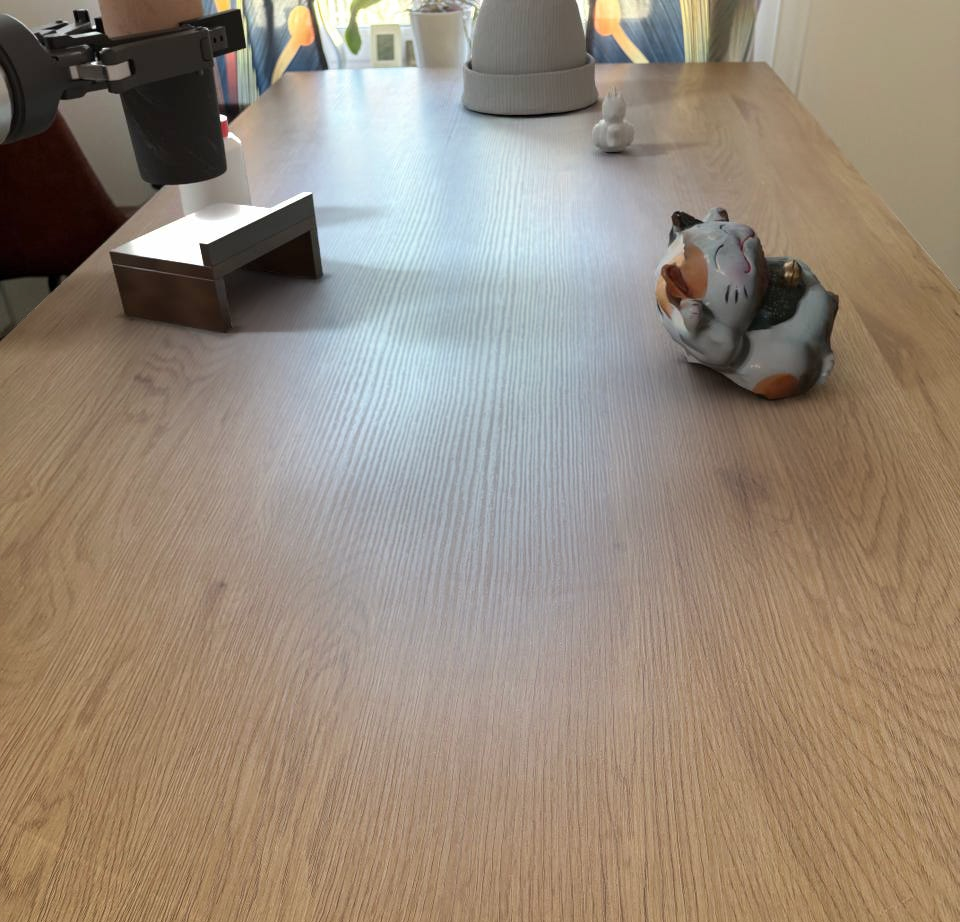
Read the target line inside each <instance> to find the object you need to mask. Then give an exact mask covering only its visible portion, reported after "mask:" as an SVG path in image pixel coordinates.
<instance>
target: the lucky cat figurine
mask: <svg viewBox="0 0 960 922" xmlns="http://www.w3.org/2000/svg"><path fill="white" fill-rule="evenodd" d="M670 218H671V221H672V224H671V229H670V231H669V234H668V243H667V247H666V250H665V253H664V256H663V257H662V258H661V260H660V262H659V264H658V266H657V268H656V269H655V272H654V273H653V277H654V281H655V291H654V294H655V297H656V299H655V300H656V305H655V307H656V313H657V314H658V317H659V320H660V323H661V324H662V326H663V327H664V328H665V330H666V331H667V332H668V334H669V336H670V337H671V339H672V340H673V342H675V343H676V344H678V345H679V346H680V347H682V355H683V357H684V358H685V360H687V362H689V363H694V364H695V363H696V364H701V365H703V366H705V367H708V368H710V369H711V370H714V371H716V372H718V373H719V374H722V375H723V376H725V377H727V378H728V379H729V380H731V381H732V382H734V383H735V384H737V385H738V386H740V387H741V388H743V389H745V390H747V391H750V392H752V393H754V394H755V395H756V396H759V397H762V398H763V399H767V400H770V401H771V400H776V399H784V398H788V397H794V396H795V397H796V396H800V395H803V394H806V393H807V392H809V391H810V390H811V389H813V388H814V387H822V386H823V385H824V384H825V383H826V381H828V380H829V379H830V376H831V373H832V371H833V369H834V367H835V363H836V360H835V359H836V356H835V352H834V350H833V349H832V347H831V346H832V345H831V337H832V334H833V333H832V332H833V331H834V324H835V322H836V317H837V314H838V311H839V309H840V306H839V304H840V297H839V295H838V294H835V293H834V292H833V291H829V290H826V288H825V287H824V286H823V285H822V284H821V281H820V280H819V278H818V277H817V276H816V275H815V273H814V272H813V271H812V269H811V268H810V267H809V266H808V265H807V264H806V263H805V262H804V261H802V260H800V259H798V258H795V257H791V256H765V251H764V250H763V245H762V241H761V239H760V238H759V236H758V233H757V231H756V230H755V229H754V228H753V227H751V226H749V225H747V224H745V223H741V222H737V221H730V219H729V214H728V212H727V209H725V208H724V207H722V206H714V207H711V208H710V209H709V210H708V212H707V214H706V216H704V217H703V219H702V220H701V219H698V218H695V216H693V215H692V214H691V215H690V214H689V213H687V212H685V211H680V210H676V211H673V213H672V215H671V216H670Z"/></svg>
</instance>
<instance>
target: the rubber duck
mask: <svg viewBox="0 0 960 922" xmlns="http://www.w3.org/2000/svg"><path fill="white" fill-rule="evenodd" d="M626 111H627V103H626V101H625V98H624V96H623V94H622V92H621V91H619V92H618V94H617V87H616V84H615V83H614V84H613V86H612V91H611V94H610V91H608V92H607V93H606V96H605V98H604V100H603V102H602V104H601V117H602V118H603V119H600V120H599V121H598V122H597V123H595V125H594V126H593V127H592V130H591V134H592V136H591V137H592V142H593V144H594V146H595V147H597V148H598V149H599V150H601V151H603V152H606V153H618V152H621V151H624V150H625V149H626V148H627V147H629V146H631V145H632V143H633V142H634V139H635V138H634V137H635V129H634V128H635V127H634V126H633V124H632V123H630V122H629V121H628V120H627V119H625V116H626V114H627V112H626Z"/></svg>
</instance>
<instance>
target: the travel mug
mask: <svg viewBox="0 0 960 922" xmlns="http://www.w3.org/2000/svg"><path fill="white" fill-rule="evenodd" d="M97 2H98V6H99V11H100V17H102V21H103V26H104V31H105V35H107V36H108V37H109V38H112V37H118V36H124V35H131V34H137V33H143V32H150V31H156V30H163V29H169V28H175V27H179V24H178V23H179V22H183V21H187V20H191V19H194V18H198V17H202V16H205V11H204V6H203V5H204V4H203V0H97ZM118 95H119V98H120V102H121V106H122V111H123V114H124V118H125V122H126V126H127V130H128V134H129V138H130V142H131V145H132V149H133V153H134V157H135V161H136V164H137V168H138V169H137V170H138V172H139V176H140V178H141V180H142V181H144V182H145V183H148V184H152V185H160V186H178V185H183V184H191V183H198V182H202V181H207V180H210V179H213V178H216V177H219V176H221V175H222V174H224V173H225V172H226V171H227V162H226V154H225V147H224V140H223V133H222V126H221V119H220V115H221V112H220V106H219V105H220V104H219V98H218V91H217V85H216V78H215V71H214V67H213V68H210V69H207V70H204V69H203V75H201V76H198V75H193V74H191V73H187V74H183V75H179V76H175V77H171V78H167V79H163V80H159V81H155V82H151V83H147V84H143V85H139V86H136V87H134V88H131V89H129V90H126V91H124V92H121V93H120V94H118Z"/></svg>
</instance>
